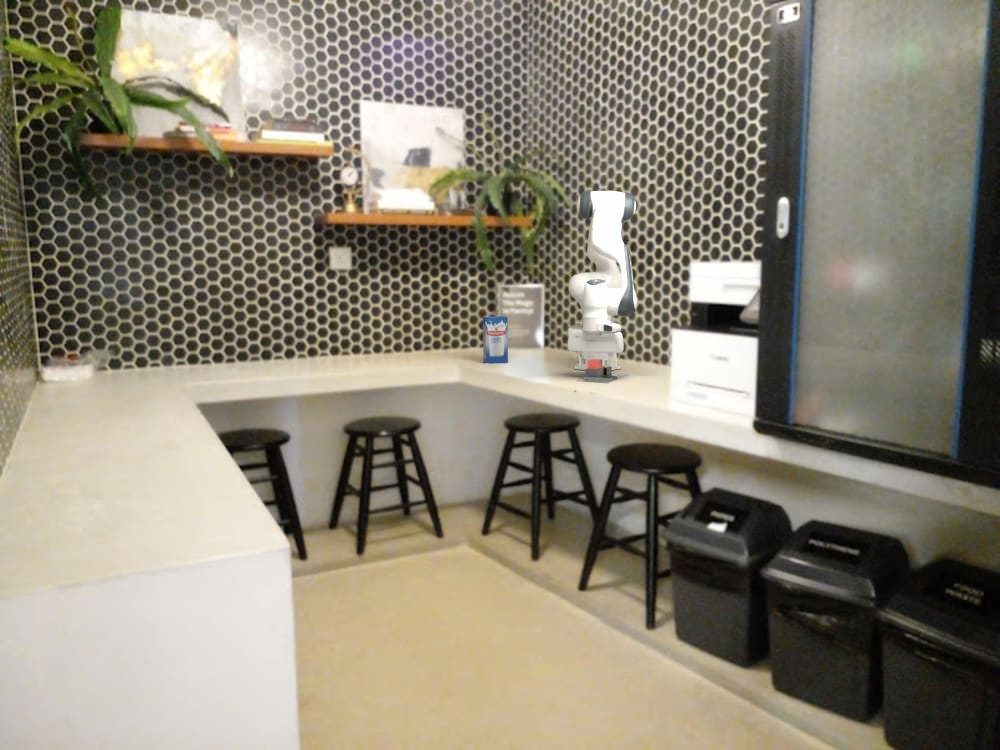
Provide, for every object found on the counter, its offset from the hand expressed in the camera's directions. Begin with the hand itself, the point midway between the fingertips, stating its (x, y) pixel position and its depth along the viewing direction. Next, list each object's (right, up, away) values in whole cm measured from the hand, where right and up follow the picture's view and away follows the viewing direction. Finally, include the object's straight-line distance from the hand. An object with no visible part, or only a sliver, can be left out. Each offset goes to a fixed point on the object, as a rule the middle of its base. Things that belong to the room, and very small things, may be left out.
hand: (595, 364), depth 267 cm
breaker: (0, -5, +1) cm, 5 cm away
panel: (+3, -6, +3) cm, 7 cm away
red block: (0, -1, 0) cm, 1 cm away
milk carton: (-36, +2, +63) cm, 72 cm away
